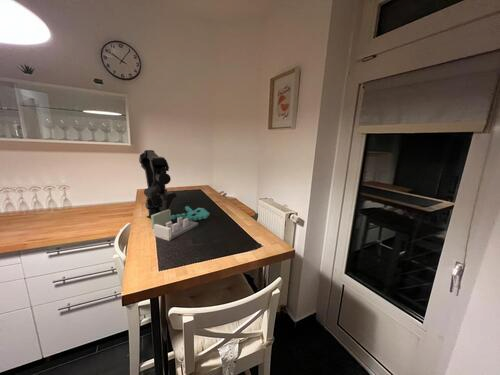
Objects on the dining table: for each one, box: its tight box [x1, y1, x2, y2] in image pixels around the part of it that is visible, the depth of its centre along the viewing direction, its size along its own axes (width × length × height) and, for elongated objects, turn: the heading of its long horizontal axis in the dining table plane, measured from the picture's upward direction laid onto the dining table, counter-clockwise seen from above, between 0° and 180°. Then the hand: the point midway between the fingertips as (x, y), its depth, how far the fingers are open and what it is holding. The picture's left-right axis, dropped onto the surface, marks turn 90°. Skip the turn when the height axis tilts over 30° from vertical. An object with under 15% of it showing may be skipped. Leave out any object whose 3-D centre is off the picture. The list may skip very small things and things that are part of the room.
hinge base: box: [153, 217, 199, 242], centre depth 113 cm, size 10×22×6 cm, turn 155°
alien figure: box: [171, 205, 211, 222], centre depth 136 cm, size 20×2×20 cm
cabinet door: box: [150, 208, 172, 230], centre depth 118 cm, size 3×12×8 cm, turn 155°
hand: (160, 208), depth 116 cm, fingers open, 9 cm apart
